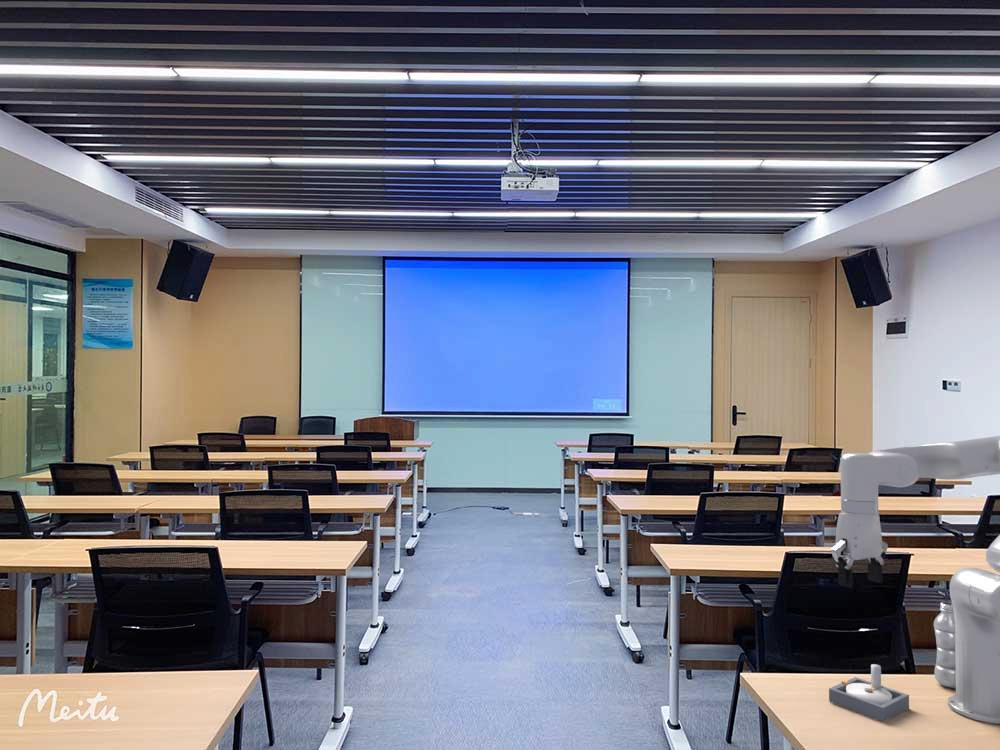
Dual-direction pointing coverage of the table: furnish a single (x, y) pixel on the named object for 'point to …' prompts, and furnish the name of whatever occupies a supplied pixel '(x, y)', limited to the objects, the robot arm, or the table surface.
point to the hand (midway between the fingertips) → (860, 583)
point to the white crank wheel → (871, 688)
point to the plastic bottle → (945, 646)
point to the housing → (866, 707)
